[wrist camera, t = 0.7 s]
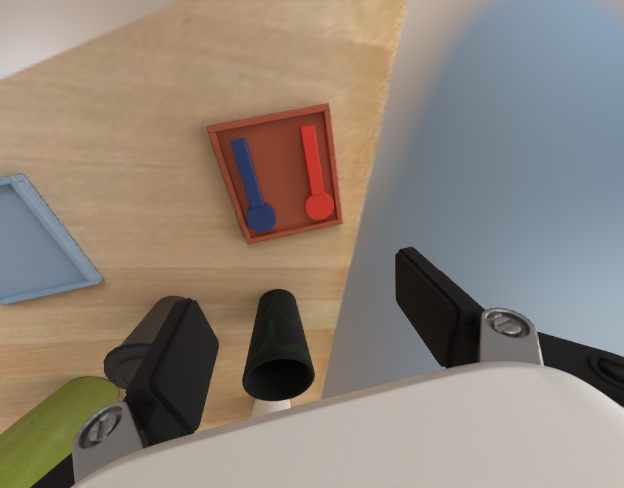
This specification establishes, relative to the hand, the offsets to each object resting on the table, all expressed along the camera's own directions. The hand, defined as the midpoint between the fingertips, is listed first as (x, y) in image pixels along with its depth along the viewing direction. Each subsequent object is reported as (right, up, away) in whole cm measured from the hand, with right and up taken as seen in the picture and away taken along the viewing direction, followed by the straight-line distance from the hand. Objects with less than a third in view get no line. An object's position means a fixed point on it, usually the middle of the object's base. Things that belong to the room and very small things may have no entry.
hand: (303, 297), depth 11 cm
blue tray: (-33, +2, +15) cm, 36 cm away
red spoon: (+1, +11, +16) cm, 19 cm away
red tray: (-3, +10, +16) cm, 19 cm away
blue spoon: (-6, +9, +16) cm, 19 cm away
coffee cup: (-19, -7, +23) cm, 30 cm away
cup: (-5, -6, +25) cm, 26 cm away
